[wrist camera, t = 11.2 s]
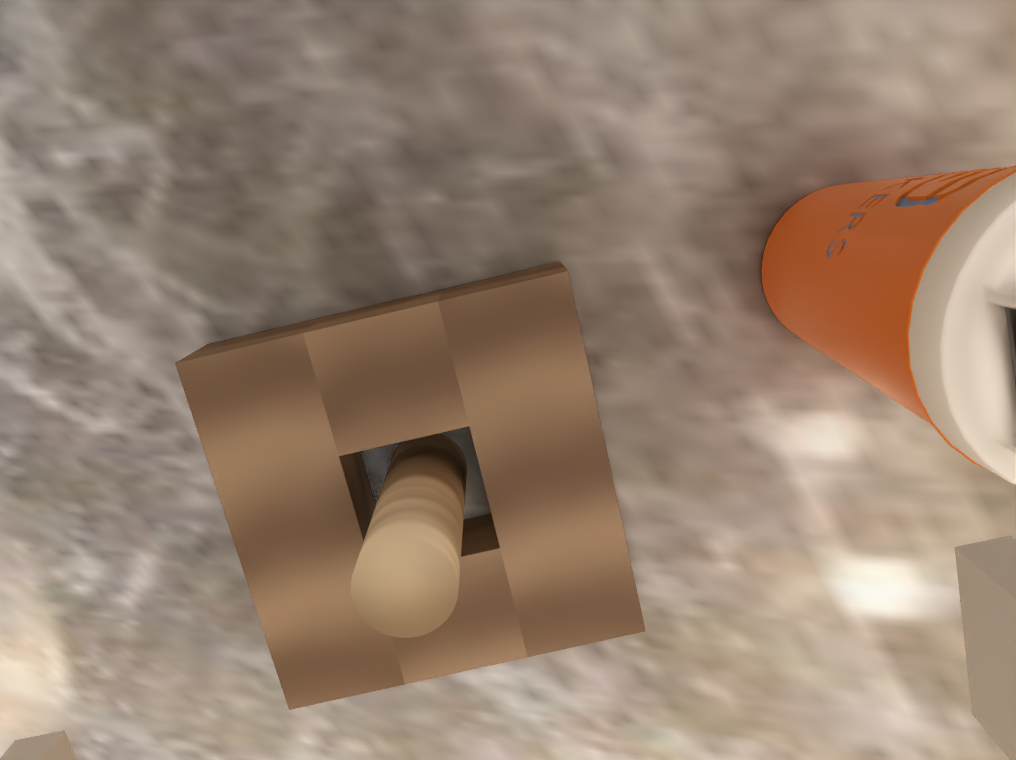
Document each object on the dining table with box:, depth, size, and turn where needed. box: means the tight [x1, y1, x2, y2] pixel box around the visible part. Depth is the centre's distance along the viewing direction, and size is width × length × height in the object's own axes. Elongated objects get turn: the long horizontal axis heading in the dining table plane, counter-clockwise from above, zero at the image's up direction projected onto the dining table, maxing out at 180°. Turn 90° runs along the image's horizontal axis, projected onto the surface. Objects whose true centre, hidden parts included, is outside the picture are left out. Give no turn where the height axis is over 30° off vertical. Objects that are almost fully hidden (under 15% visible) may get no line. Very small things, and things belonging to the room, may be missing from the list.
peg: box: [351, 434, 467, 638], centre depth 34 cm, size 4×4×12 cm
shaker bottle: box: [761, 166, 1016, 485], centre depth 28 cm, size 9×9×20 cm
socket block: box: [175, 262, 645, 710], centre depth 38 cm, size 16×16×4 cm
